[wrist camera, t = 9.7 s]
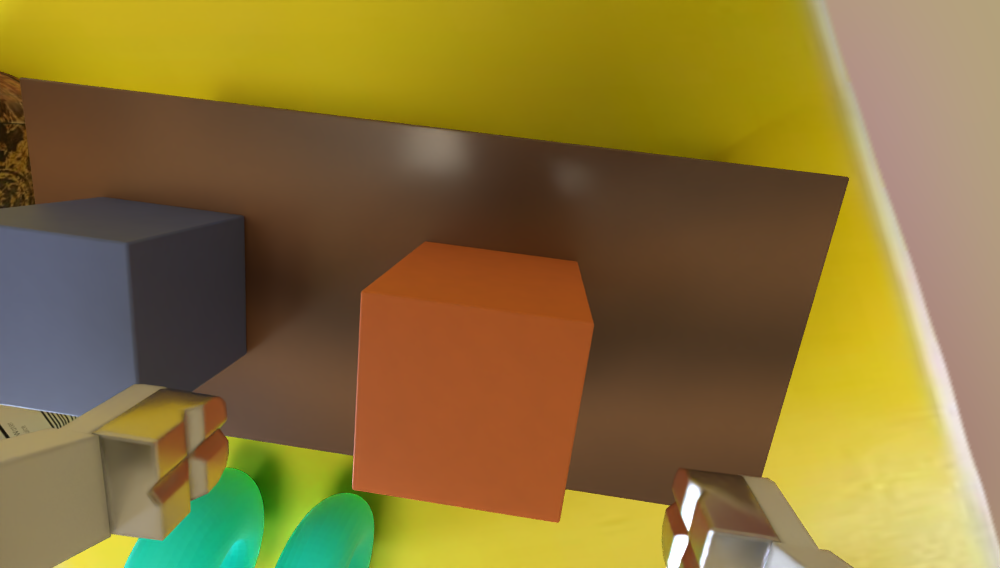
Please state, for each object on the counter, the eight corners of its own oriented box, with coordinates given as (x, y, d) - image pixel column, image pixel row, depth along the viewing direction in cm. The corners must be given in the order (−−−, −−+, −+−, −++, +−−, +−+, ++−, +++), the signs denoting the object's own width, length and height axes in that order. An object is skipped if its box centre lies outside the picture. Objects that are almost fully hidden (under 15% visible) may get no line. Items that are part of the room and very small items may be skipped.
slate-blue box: (102, 196, 17) (-70, 216, 12) (245, 215, 17) (126, 242, 12) (114, 334, 19) (-36, 400, 14) (247, 354, 18) (141, 428, 14)
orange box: (424, 240, 17) (359, 291, 11) (578, 261, 16) (594, 323, 11) (413, 380, 18) (350, 490, 12) (555, 401, 18) (559, 524, 12)
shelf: (212, 102, 26) (18, 77, 16) (732, 165, 25) (850, 177, 15) (219, 323, 29) (60, 410, 20) (679, 390, 28) (750, 518, 18)
